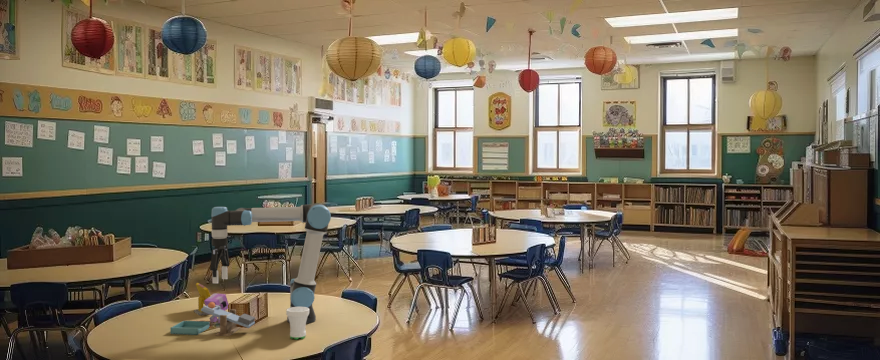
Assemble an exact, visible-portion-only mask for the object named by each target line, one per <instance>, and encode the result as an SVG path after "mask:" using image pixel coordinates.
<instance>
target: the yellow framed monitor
mask: <svg viewBox="0 0 880 360" xmlns="http://www.w3.org/2000/svg"><path fill="white" fill-rule="evenodd" d="M195 287H196V289H197V291H198V295H199V296H198V300H197V302H198V307H197V309H194V310H193V312H194V313H195V314H196V315H198V316H207V315H208V316H209V315H211V314H208V313H205V312H203V311H201V309H202V308H203V306H204V305H205V302H204V300H206V299H207V298H209V297H210V296H211V293H210V291H209V288H207V287H206V286H204V285H203V284H201V283H199V282H196V283H195ZM211 316H212V315H211Z"/></svg>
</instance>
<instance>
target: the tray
mask: <svg viewBox="0 0 880 360" xmlns="http://www.w3.org/2000/svg"><path fill="white" fill-rule="evenodd" d="M210 324H211V322H210V320H209V321H208V320H207V321H205V320H202V321H201V320H182V321H180V322H179V323H176V324H175V325H173V326H171V327H170V328H169V329H170V335H188V336H189V335H190V336H191V335H192V336H198V335H200V334H202V333H203V332H205V331H207V330H209V327H210V326H211V325H210ZM210 328H211V327H210Z"/></svg>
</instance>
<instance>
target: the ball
mask: <svg viewBox="0 0 880 360" xmlns="http://www.w3.org/2000/svg"><path fill="white" fill-rule="evenodd" d="M208 307H209V308H211V309H213V308H215V303H214V302H210V303H209V304H208Z"/></svg>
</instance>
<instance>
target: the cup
mask: <svg viewBox="0 0 880 360" xmlns="http://www.w3.org/2000/svg"><path fill="white" fill-rule="evenodd" d="M285 314H286V317H287V316H288V319H289V322H290V323H289V322H288V323H289V327H290V328H289V329H290V330H289V331H290V332H289V336H290V339H291V340H293V339H294V340H299V339H301V340H304V339H305V337H306V336H307V331H306V325H307V323H306V321H307V317H308V315H309V308H307V307H291V308H290V307H288V308H286V310H285ZM303 338H304V339H303Z"/></svg>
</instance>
